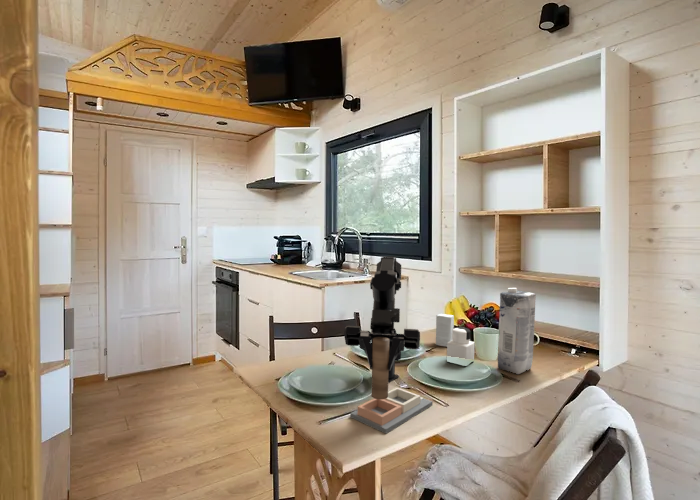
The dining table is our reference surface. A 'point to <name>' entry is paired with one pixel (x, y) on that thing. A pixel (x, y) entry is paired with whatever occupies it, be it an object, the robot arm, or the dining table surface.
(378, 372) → the walnut pin
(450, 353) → the medicine bottle
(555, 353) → the dining table surface
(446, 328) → the skincare box
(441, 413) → the dining table surface
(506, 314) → the juice carton
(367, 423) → the board
